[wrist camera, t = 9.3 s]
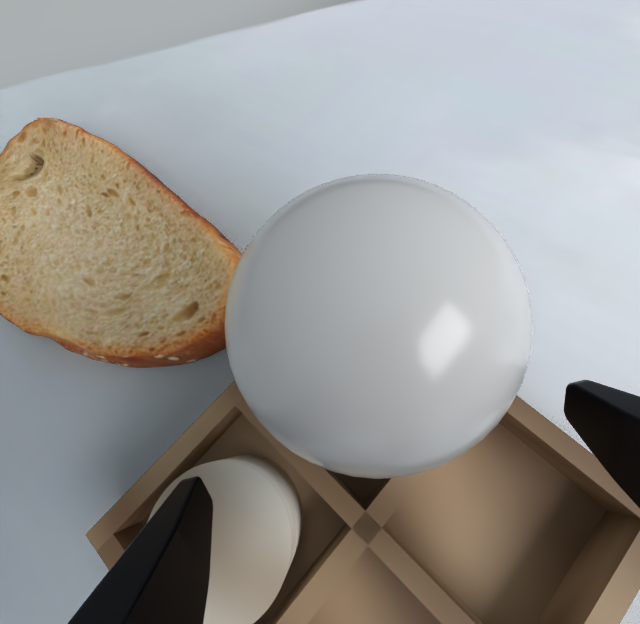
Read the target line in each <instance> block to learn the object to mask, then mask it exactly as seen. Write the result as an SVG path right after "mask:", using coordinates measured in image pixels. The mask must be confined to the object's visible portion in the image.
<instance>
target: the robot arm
mask: <svg viewBox="0 0 640 624" xmlns="http://www.w3.org/2000/svg"><path fill="white" fill-rule="evenodd" d="M564 413H565V416H566V418H567V420H568V421H569V423H570V424H571V425H572V426H573V428H574V429H575V430H576V432H577V433H578V434H579V436H580V437H581V438H582V440H583V441H584V442H585V443H586V445H587V446H588V447H589V449H590V450H591V451H592V453H593V454H594V455H595V457H596V458H597V459H598V461H599V462H600V463H601V464H602V466H603V467H604V468H605V470H606V471H607V472H608V473H609V475H610V476H611V477H612V478H613V479H614V481H615V482H616V483H617V484H618V485H619V486H620V487H621V489H622V490H623V491H624V492H625V493H626V494H627V495H628V496H629V497H630V499H631V500H632V501H633V502H634V503H635V504H636V505H637V506H638V507H639V508H640V397H639V396H636V395H633V394H630V393H627V392H624V391H621V390H617V389H614V388H611V387H608V386H605V385H602V384H599V383H596V382H593V381H589V380H582V381H578V382H573V383H570V384H568V386H567V387H566V394H565V403H564ZM212 523H213V501H212V498H211V496H210V494H209V492H208V490H207V488H206V486H205V484H204V482H203V481H202V479H201V478H200V477H199V476H195V477H191V478H187V479H183V480H181V481H180V482H179V483H178V484H177V486H176V487H175V488H174V490H173V491H172V492H171V493H170V495H169V496H168V497H167V498H166V500H165V501H164V502H163V503H162V505H161V506H160V507H159V508H158V510H157V511H156V512H155V514H154V515H153V516H152V517H151V519H150V520H149V521H148V522H147V524H146V525H145V526H144V527H143V529H142V530H141V531H140V533H139V534H138V535H137V536H136V538H135V539H134V540H133V541H132V543H131V544H130V545H129V546H128V548H127V549H126V550H125V552H124V553H123V554H122V555H121V557H120V558H119V559H118V560H117V562H116V563H115V564H114V565H113V567H112V568H111V569H110V571H109V572H108V573H107V574H106V576H105V577H104V578H103V579H102V581H101V582H100V583H99V584H98V586H97V587H96V588H95V590H94V591H93V592H92V593H91V595H90V596H89V597H88V598H87V600H86V601H85V602H84V603H83V605H82V606H81V607H80V609H79V610H78V611H77V612H76V614H75V615H74V616H73V617H72V619H71V620H70V621H69V622H68V624H203V622H204V615H205V608H206V601H207V594H208V587H209V578H210V562H211V543H212Z"/></svg>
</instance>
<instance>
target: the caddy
mask: <svg viewBox="0 0 640 624" xmlns="http://www.w3.org/2000/svg"><path fill="white" fill-rule="evenodd" d="M195 476H199V477H200V478H201V479H202V481H203V482H204V484H205V486H206V488H207V490H208V492H209V494H210V496H211V498H212V501H213V523H212V543H211V562H210V578H209V587H208V594H207V601H206V608H205V615H204V622H203V624H620V622H621V621H622V619H623V617H624V615H625V614H626V612H627V610H628V608H629V607H630V605H631V603H632V601H633V600H634V598H635V596H636V594H637V593H638V591H639V589H640V508H639V507H638V506H637V505H636V504H635V503H634V502H633V501H632V500H631V499H630V497H629V496H628V495H627V494H626V493H625V492H624V491H623V490H622V489H621V487H620V486H619V485H618V484H617V483H616V482H615V481H614V479H613V478H612V477H611V476H610V475H609V473H608V472H607V471H606V470H605V468H604V467H603V466H602V464H601V463H600V462H599V461H598V459H597V458H596V457H595V456H594V455H593V454H592V453H590V452H589V451H588V450H586V449H585V448H584V447H583V446H581V445H580V444H579V443H577V442H576V441H575V440H574V439H572V438H571V437H570V436H568V435H567V434H566V433H564V432H563V431H562V430H561V429H559V428H558V427H557V426H555V425H554V424H553V423H552V422H550V421H549V420H548V419H546V418H545V417H544V416H543V415H541V414H540V413H539V412H537V411H536V410H535V409H534V408H532V407H531V406H530V405H528V404H527V403H526V402H525V401H523V400H522V399H521V398H519V397H518V396H517V395H516V396H515V398H514V400H513V402H512V404H511V406H510V408H509V409H508V411H507V412H506V413H505V415H504V416H503V418H502V419H501V420H500V422H499V423H498V425H497V426H496V427H495V428H494V429H493V430H492V431H491V432H490V433H489V434H488V435H487V436H486V437H485V438H484V439H483V440H482V441H480V442H479V443H478V444H476V445H475V446H474V447H472V448H471V449H469V450H468V451H467V452H465V453H464V454H462V455H461V456H459V457H457V458H455V459H453V460H452V461H450V462H448V463H446V464H444V465H442V466H440V467H437V468H434V469H431V470H429V471H426V472H423V473H420V474H415V475H410V476H405V477H400V478H382V479H373V478H363V477H353V476H349V475H345V474H341V473H337V472H333V471H330V470H327V469H325V468H322V467H320V466H317V465H315V464H312V463H310V462H309V461H307V460H305V459H303V458H302V457H300V456H298V455H296V454H295V453H293V452H292V451H290V450H289V449H288V448H286V447H285V446H284V445H282V444H281V443H280V442H279V441H277V440H276V439H275V438H274V437H273V436H272V435H271V434H270V433H269V432H268V431H267V430H266V429H265V428H264V427H263V426H262V425H261V423H260V422H259V421H258V419H257V418H256V417H255V415H254V414H253V413H252V411H251V410H250V408H249V407H248V405H247V403H246V401H245V399H244V398H243V396H242V394H241V392H240V390H239V389H238V386H237V384H236V381H234V382H233V383H232V384H231V385H230V386H229V387H228V388H227V389H226V390H225V391H224V392H223V393H222V394H221V395H220V396H219V397H218V398H217V399H216V400H215V401H214V402H213V404H212V405H211V406H210V407H209V408H208V409H207V410H206V411H205V412H204V413H203V414H202V415H201V416H200V417H199V418H198V419H197V420H196V421H195V422H194V423H193V424H192V425H191V426H190V427H189V428H188V429H187V430H186V431H185V432H184V433H183V434H182V436H181V437H180V438H179V439H178V440H177V441H176V442H175V443H174V444H173V445H172V446H171V447H170V448H169V449H168V450H167V451H166V452H165V453H164V454H163V455H162V456H161V457H160V458H159V459H158V460H157V461H156V462H155V463H154V464H153V465H152V466H151V467H150V469H149V470H148V471H147V472H146V473H145V474H144V475H143V476H142V477H141V478H140V479H139V480H138V481H137V482H136V483H135V484H134V485H133V486H132V487H131V488H130V489H129V490H128V491H127V492H126V493H125V494H124V495H123V496H122V497H121V498H120V499H119V501H118V502H117V503H116V504H115V505H114V506H113V507H112V508H111V509H110V510H109V511H108V512H107V513H106V514H105V515H104V516H103V517H102V518H101V519H100V520H99V521H98V522H97V523H96V524H95V525H94V526H93V527H92V528H91V529H90V530H89V531H88V532H87V534H86V536H87V538H88V539H89V541H90V542H91V544H92V545H93V547H94V548H95V550H96V551H97V553H98V554H99V556H100V557H101V559H102V560H103V562H104V563H105V565H106V566H107V568H108V569H109V571H110V569H111V568H112V567H113V565H114V564H115V563H116V562H117V560H118V559H119V558H120V557H121V555H122V554H123V553H124V552H125V550H126V549H127V548H128V546H129V545H130V544H131V543H132V541H133V540H134V539H135V538H136V536H137V535H138V534H139V533H140V531H141V530H142V529H143V527H144V526H145V525H146V524H147V522H148V521H149V520H150V519H151V517H152V516H153V515H154V514H155V512H156V511H157V510H158V508H159V507H160V506H161V505H162V503H163V502H164V501H165V500H166V498H167V497H168V496H169V495H170V493H171V492H172V491H173V490H174V488H175V487H176V486H177V484H178V483H179V482H180V481H181V480H183V479H187V478H191V477H195Z"/></svg>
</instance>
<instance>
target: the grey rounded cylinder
mask: <svg viewBox="0 0 640 624" xmlns="http://www.w3.org/2000/svg"><path fill="white" fill-rule="evenodd" d="M532 332H533V317H532V308H531V300H530V294H529V291H528V287H527V284H526V280H525V277H524V275H523V272H522V270H521V268H520V265H519V263H518V261H517V259H516V257H515V255H514V254H513V252H512V250H511V249H510V247H509V245H508V244H507V242H506V240H505V239H504V237H503V236H502V235H501V234H500V232H499V231H498V230H497V229H496V227H495V226H494V225H493V224H492V223H491V222H490V221H489V220H488V219H487V218H486V217H485V216H484V215H483V214H482V213H481V212H480V211H479V210H477V209H476V208H475V207H473V206H472V205H471V204H470V203H468V202H467V201H465V200H464V199H462V198H460V197H459V196H457V195H455V194H454V193H452V192H450V191H448V190H445V189H443V188H441V187H439V186H437V185H434V184H431V183H428V182H425V181H422V180H419V179H414V178H410V177H406V176H399V175H390V174H367V175H356V176H350V177H345V178H340V179H336V180H333V181H330V182H327V183H324V184H321V185H319V186H316V187H314V188H312V189H310V190H307V191H306V192H304V193H302V194H300V195H299V196H297V197H295V198H294V199H292V200H291V201H290V202H288V203H287V204H286V205H284V206H283V207H281V208H280V209H279V210H278V211H277V212H276V213H275V214H274V215H273V216H272V217H271V218H270V219H268V220H267V221H266V222H265V223H264V224H263V225H262V227H261V228H260V229H259V230H258V232H257V233H256V234H255V235H254V236H253V238H252V239H251V241H250V242H249V244H248V246H247V247H246V249H245V250H244V252H243V254H242V256H241V259H240V261H239V263H238V265H237V267H236V269H235V272H234V275H233V278H232V281H231V284H230V287H229V291H228V296H227V302H226V307H225V339H226V350H227V355H228V359H229V363H230V368H231V371H232V373H233V376H234V379H235V381H236V384H237V386H238V389H239V390H240V392H241V394H242V396H243V398H244V399H245V401H246V403H247V405H248V407H249V408H250V410H251V411H252V413H253V414H254V415H255V417H256V418H257V419H258V421H259V422H260V423H261V425H262V426H263V427H264V428H265V429H266V430H267V431H268V432H269V433H270V434H271V435H272V436H273V437H274V438H275V439H276V440H277V441H279V442H280V443H281V444H282V445H284V446H285V447H286V448H288V449H289V450H290V451H292V452H293V453H295V454H296V455H298V456H300V457H302V458H303V459H305V460H307V461H309V462H310V463H312V464H315V465H317V466H320V467H322V468H325V469H327V470H330V471H333V472H337V473H341V474H345V475H349V476H353V477H363V478H373V479H382V478H400V477H405V476H410V475H415V474H420V473H423V472H426V471H429V470H431V469H434V468H437V467H440V466H442V465H444V464H446V463H448V462H450V461H452V460H453V459H455V458H457V457H459V456H461V455H462V454H464V453H465V452H467V451H468V450H469V449H471V448H472V447H474V446H475V445H476V444H478V443H479V442H480V441H482V440H483V439H484V438H485V437H486V436H487V435H488V434H489V433H490V432H491V431H492V430H493V429H494V428H495V427H496V426H497V425H498V423H499V422H500V420H501V419H502V418H503V416H504V415H505V413H506V412H507V411H508V409H509V408H510V406H511V404H512V402H513V400H514V398H515V396H516V394H517V392H518V390H519V389H520V386H521V384H522V382H523V379H524V376H525V373H526V370H527V367H528V364H529V360H530V354H531V348H532Z"/></svg>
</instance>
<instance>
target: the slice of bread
mask: <svg viewBox="0 0 640 624" xmlns="http://www.w3.org/2000/svg"><path fill="white" fill-rule="evenodd" d="M37 119H38V120H34V121H33V122H31V123H29V124H27V125H26V126H25V127H24V128H23V129H22V131H21V132H20V133H18V134H17V135H16V136H15V137H13V138H12V139H11V140H10V141H9V142H8V144H7V145H6V147H5V149H4V150H3V152H2V153H1V154H0V314H1V315H2V316H3V317H4V318H5V319H7V320H8V321H10V322H12V323H13V324H15V325H16V326H17V327H19V328H20V329H21V330H23V331H25V332H27V333H29V334H33V335H38V336H44V337H48V338H51V339H53V340H55V341H57V342H58V343H59V344H60V345H62V346H63V347H64V348H66V349H68V350H70V351H72V352H75V353H79V354H82V355H84V356H86V357H88V358H91V359H94V360H99V361H103V362H108V363H113V364H118V365H121V366H126V367H138V368H147V367H164V366H172V365H180V364H186V363H190V362H194V361H197V360H199V359H202V358H205V357H208V356H211V355H213V354H215V353H217V352H219V351H221V350H223V349H225V348H226V339H225V307H226V302H227V296H228V291H229V287H230V284H231V281H232V278H233V275H234V272H235V269H236V267H237V265H238V263H239V261H240V259H241V256H242V254H241V253H240V252H239V250H238V249H237V248H236V247H235V246H234V245H233V244H232V243H231V242H230V241H229V240H228V239H227V238H226V237H225V236H224V235H223V234H222V233H221V232H220V231H219V230H218V229H217V228H215V227H214V226H213V225H212V224H211V223H210V222H209V221H207V220H206V219H205V218H203V217H201V216H200V215H199V214H198V213H197V212H195V211H194V210H193V209H192V208H190V207H189V206H188V205H187V204H186V203H185V202H184V201H183V200H182V199H181V198H180V197H179V196H177V195H176V194H175V193H174V192H172V191H171V190H170V189H169V188H167V187H166V186H165V185H164V184H163V183H162V182H161V181H160V180H159V179H158V178H157V177H156V176H154V175H153V174H152V173H150V172H149V171H148V170H147V169H146V168H145V167H144V166H142V165H141V164H140V163H139V162H137V161H136V160H135V159H133V158H132V157H130V156H129V155H127V154H126V153H124V152H123V151H122V150H121V149H119V148H118V147H117V146H115V145H114V144H112V143H110V142H108V141H106V140H104V139H102V138H99V137H97V136H95V135H92V134H90V133H88V132H86V131H85V130H83V129H82V128H80V127H78V126H76V125H72V124H69V123H67V122H65V121H63V120H60V119H55V118H37Z"/></svg>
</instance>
